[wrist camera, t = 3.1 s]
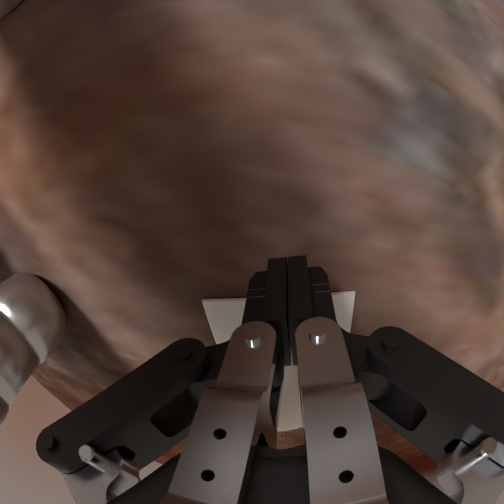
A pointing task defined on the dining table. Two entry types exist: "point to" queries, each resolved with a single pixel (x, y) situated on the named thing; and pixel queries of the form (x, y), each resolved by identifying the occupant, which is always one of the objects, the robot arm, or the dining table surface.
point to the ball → (290, 400)
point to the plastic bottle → (25, 332)
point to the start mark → (231, 309)
